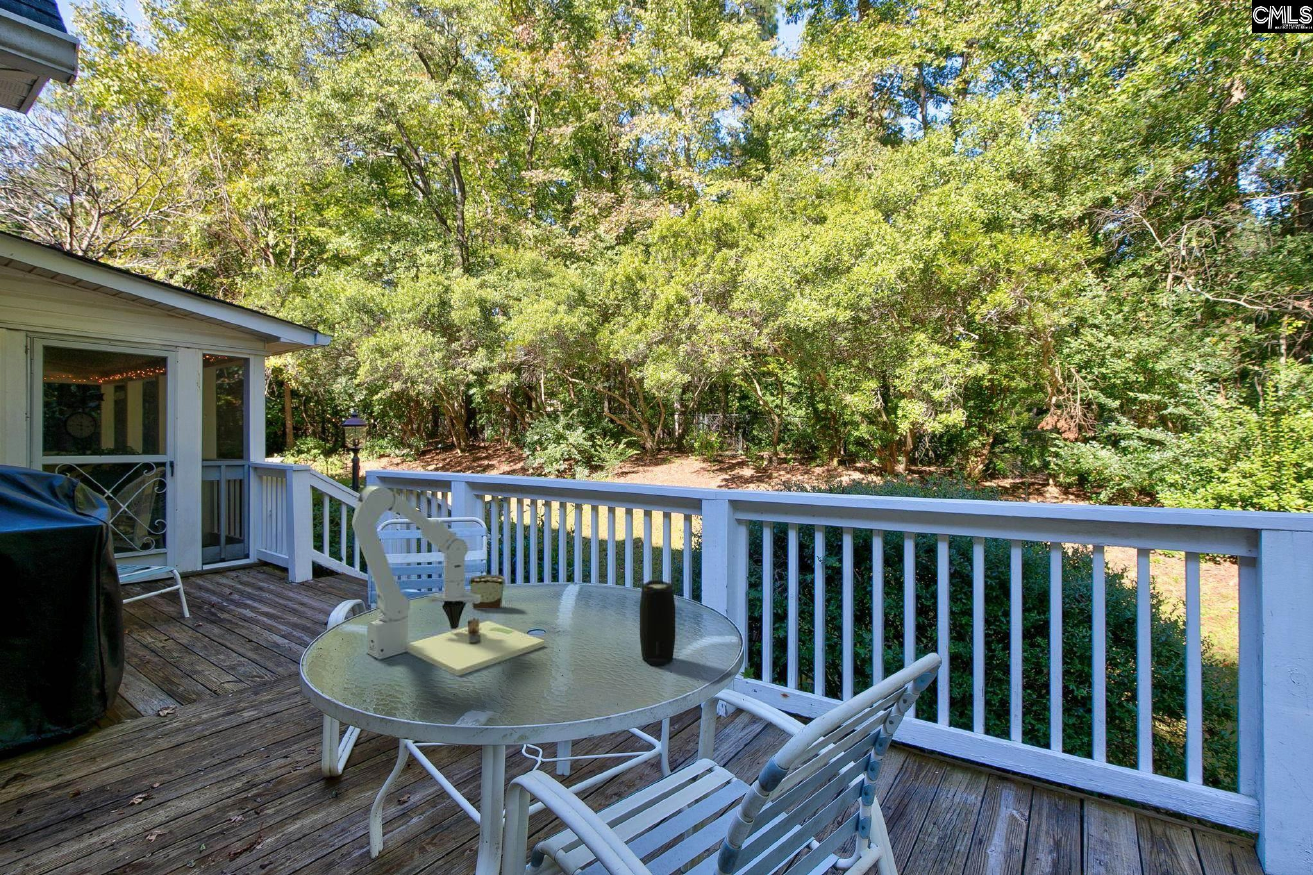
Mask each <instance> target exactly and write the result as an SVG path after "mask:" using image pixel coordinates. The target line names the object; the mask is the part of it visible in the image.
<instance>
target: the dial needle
mask: <svg viewBox="0 0 1313 875" xmlns="http://www.w3.org/2000/svg"><path fill="white" fill-rule="evenodd" d="M479 624H480V619H478V618H474V619H473V618H472V619H469V620H468V621H467V627H468V633H469V634H472V635H471V636H469V643H479V642H481V635H479V634H476V633H478V632H479Z"/></svg>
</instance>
